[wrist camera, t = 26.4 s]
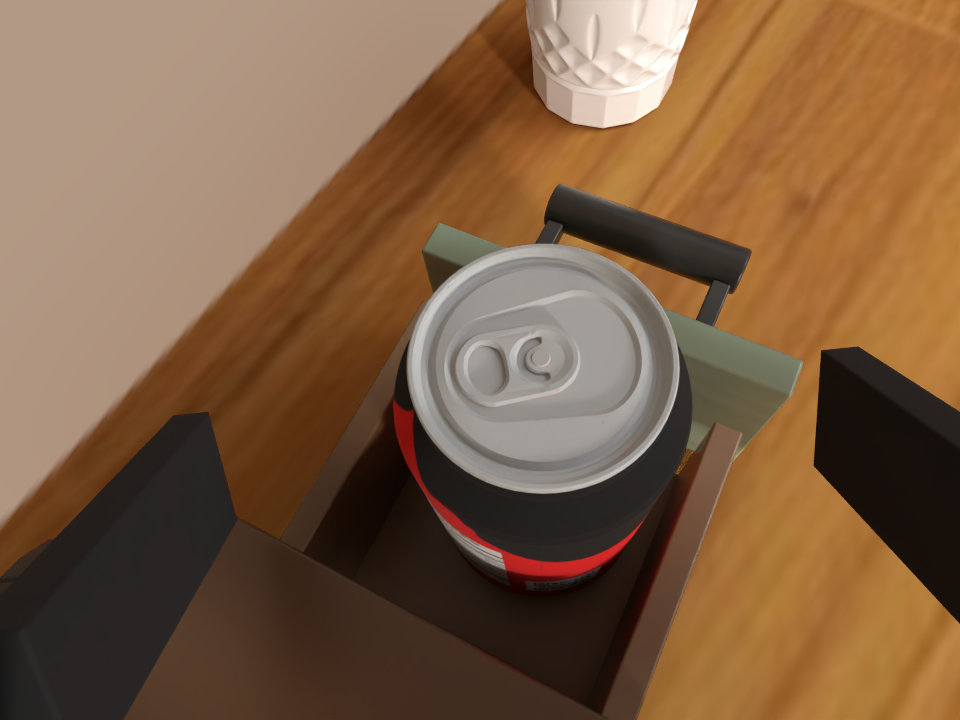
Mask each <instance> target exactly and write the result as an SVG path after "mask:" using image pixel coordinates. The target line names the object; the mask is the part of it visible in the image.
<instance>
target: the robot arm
mask: <svg viewBox="0 0 960 720" xmlns="http://www.w3.org/2000/svg"><path fill="white" fill-rule="evenodd" d="M814 467H815V468H816V469H817V470H818V471H819V472H820V473H821V474H822V475H823V476H824V478H825V479H826V480H827V481H828V482H829V483H830V484H831V485H832V486H833V487H834V488H835V489H836V490H837V492H838V493H839V494H840V495H841V496H842V497H843V498H844V499H845V500H846V501H847V502H848V503H849V505H850V506H851V507H852V508H853V509H854V510H855V511H856V512H857V513H858V514H859V515H860V516H861V518H862V519H863V520H864V521H865V522H866V523H867V524H868V525H869V526H870V527H871V528H872V529H873V530H874V532H875V533H876V534H877V535H878V536H879V537H880V538H881V539H882V540H883V541H884V542H885V543H886V545H887V546H888V547H889V548H890V549H891V550H892V551H893V552H894V553H895V554H896V555H897V556H898V558H899V559H900V560H901V561H902V562H903V563H904V564H905V565H906V566H907V567H908V568H909V569H910V570H911V572H912V573H913V574H914V575H915V576H916V577H917V578H918V579H919V580H920V581H921V582H922V583H923V585H924V586H925V587H926V588H927V589H928V590H929V591H930V592H931V593H932V594H933V595H934V596H935V598H936V599H937V600H938V601H939V602H940V603H941V604H942V605H943V606H944V607H945V608H946V609H947V610H948V612H949V613H950V614H951V615H952V616H953V617H954V618H955V619H956V620H957V621H958V622H959V623H960V412H959V411H958V410H956V409H955V408H953V407H951V406H950V405H948V404H947V403H945V402H944V401H942V400H941V399H939V398H937V397H936V396H934V395H933V394H931V393H930V392H928V391H926V390H925V389H923V388H922V387H920V386H919V385H917V384H916V383H914V382H912V381H911V380H909V379H908V378H906V377H905V376H903V375H902V374H900V373H898V372H897V371H895V370H894V369H892V368H891V367H889V366H888V365H886V364H884V363H883V362H881V361H880V360H878V359H877V358H875V357H874V356H872V355H870V354H869V353H867V352H866V351H864V350H863V349H861V348H860V347H849V348H840V349H830V350H821V363H820V378H819V393H818V408H817V423H816V438H815V453H814ZM236 522H237V518H236V514H235V511H234V507H233V503H232V499H231V496H230V492H229V488H228V484H227V480H226V477H225V473H224V469H223V465H222V462H221V458H220V454H219V450H218V447H217V443H216V439H215V435H214V431H213V428H212V424H211V420H210V416H209V413H208V412H204V413H194V414H184V415H174V416H173V417H172V418H171V419H170V420H169V421H168V422H167V423H166V424H165V425H164V426H163V427H162V428H161V429H160V430H159V431H158V432H157V433H156V434H155V435H154V436H153V437H152V438H151V439H150V441H149V442H148V443H147V444H146V445H145V446H144V447H143V448H142V449H141V450H140V451H139V452H138V453H137V454H136V455H135V456H134V457H133V458H132V459H131V460H130V461H129V462H128V463H127V464H126V465H125V466H124V467H123V469H122V470H121V471H120V472H119V473H118V474H117V475H116V476H115V477H114V478H113V479H112V480H111V481H110V482H109V483H108V484H107V485H106V486H105V487H104V488H103V489H102V490H101V491H100V492H99V493H98V494H97V495H96V497H95V498H94V499H93V500H92V501H91V502H90V503H89V504H88V505H87V506H86V507H85V508H84V509H83V510H82V511H81V512H80V513H79V514H78V515H77V516H76V517H75V518H74V519H73V520H72V521H71V522H70V523H69V524H68V526H67V527H66V528H65V529H64V530H63V531H62V532H61V533H60V534H59V535H58V536H57V537H56V538H55V539H52V540H47V541H46V542H44V543H43V544H41V545H40V546H38V547H37V548H35V549H34V550H32V551H30V552H29V553H27V554H26V555H24V556H23V557H21V558H20V559H18V560H17V561H16V562H15V563H14V564H13V565H12V566H11V567H10V568H9V569H8V570H7V571H6V572H5V573H4V574H3V575H2V576H1V577H0V720H124V718H125V716H126V715H127V713H128V711H129V709H130V708H131V706H132V704H133V702H134V701H135V699H136V697H137V695H138V694H139V692H140V690H141V688H142V687H143V685H144V683H145V681H146V679H147V678H148V676H149V674H150V672H151V671H152V669H153V667H154V665H155V664H156V662H157V660H158V658H159V657H160V655H161V653H162V651H163V650H164V648H165V646H166V644H167V643H168V641H169V639H170V637H171V636H172V634H173V632H174V630H175V629H176V627H177V625H178V623H179V622H180V620H181V618H182V616H183V615H184V613H185V611H186V609H187V608H188V606H189V604H190V602H191V601H192V599H193V597H194V595H195V594H196V592H197V590H198V588H199V587H200V585H201V583H202V581H203V580H204V578H205V576H206V574H207V573H208V571H209V569H210V567H211V566H212V564H213V562H214V560H215V559H216V557H217V555H218V553H219V552H220V550H221V548H222V546H223V545H224V543H225V541H226V539H227V538H228V536H229V534H230V532H231V531H232V529H233V527H234V525H235V524H236Z"/></svg>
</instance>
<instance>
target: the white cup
mask: <svg viewBox="0 0 960 720" xmlns="http://www.w3.org/2000/svg"><path fill="white" fill-rule="evenodd" d="M697 1H698V0H526V2H525V4H526V16H527V24H528V33H529V36H530V40H531V48H532V60H533V78H534V88H535V90H536V91H537V93H538V94H539V96H540V98H541V99H542V101H543V102H544V104H545V106H546V107H547V109H549V110H550V111H552V112H554V113H555V114H557V115H559V116H560V117H562V118H564V119H566V120H567V121H569V122H571V123H573V124H579V125H585V126H591V127H598V128H607V127H612V126H617V125H623V124H628V123H633V122H635V121H637V120H638V119H640V118H641V117H643V116H645V115H646V114H648V113H649V112H651V111H652V110H654V109H655V108H657V107H658V106H659V104H660V103H661V101H662V99H663V97H664V96H665V94H666V92H667V90H668V89H669V87H670V85H671V83H672V79H673V76H674V72H675V68H676V64H677V61H678V57H679V53H680V52H681V49H682V47H683V45H684V42H685V39H686V36H687V33H688V30H689V27H690V22H691V18H692V15H693V13H694V10H695V7H696V4H697Z"/></svg>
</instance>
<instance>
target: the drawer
mask: <svg viewBox="0 0 960 720" xmlns="http://www.w3.org/2000/svg"><path fill="white" fill-rule="evenodd" d="M544 224H545V227H544V229H543V230H542V232H541V234H540V236H539V238H538V240H537V241H536V243H535V244H558V242H559V240H560V238H561V237H562V235H563V233H565V234H568V235H570V236H573V237H576V238H579V239H581V240H584V241H587V242H590V243H592V244H595V245H598V246H601V247H603V248H606V249H609V250H611V251H614V252H617V253H620V254H622V255H625V256H628V257H631V258H633V259H636V260H639V261H642V262H644V263H647V264H650V265H652V266H655V267H658V268H661V269H663V270H666V271H669V272H672V273H674V274H677V275H680V276H682V277H685V278H688V279H691V280H693V281H696V282H699V283H702V284H704V285H707V286H710V288H709V290H708V292H707V295H706V297H705V300H704V302H703V304H702V307H701V309H700V311H699V314H698V316H697V318H696V320H694V319H691V318H689V317H686V316H683V315H681V314H678V313H676V312H673V311H670V310H668V309H665V308H663V310H664V311H665V313H666V315H667V317H668V319H669V321H670V324H671V326H672V329H673V332H674V335H675V339H676V341H677V343H678V345H679V347H680V349H681V352H682V355H683V357H684V360H685V363H686V366H687V370H688V374H689V379H690V385H691V391H692V404H693V411H692V424H691V430H690V436H689V440H688V443H687V447H686V448H688V449H690V450H693V451H695V452H694V453H693V454H692V456H691V457H690V459H689V460H688V462H687V463H686V465H685V466H684V468H683V469H682V470H681V472H680V473H679V475H677V474H674V476H673V477H672V479H671V480H670V482H669V483H668V485H667V486H666V488H665V489H664V491H663V492H662V494H661V495H660V497H659V498H658V500H657V501H656V503H655V504H654V506H653V507H652V509H651V510H650V512H649V513H648V515H647V516H646V518H645V519H644V521H643V522H642V524H641V525H640V527H639V528H638V530H637V531H636V533H635V534H634V536H633V537H632V539H631V540H630V542H629V543H628V545H627V546H626V548H625V549H624V551H623V552H622V554H621V555H620V557H619V558H618V559H617V561H616V562H615V563H614V564H613V565H612V566H611V567H610V568H609V569H608V570H607V571H606V572H605V573H604V574H603V575H602V576H600V577H599V578H598V579H596V580H595V581H593V582H592V583H590V584H588V585H586V586H584V587H582V588H580V589H578V590H575V591H572V592H569V593H565V594H561V595H554V596H529V595H523V594H518V593H515V592H511V591H508V590H506V589H503V588H501V587H499V586H497V585H495V584H493V583H491V582H490V581H488V580H487V579H485V578H484V577H483V576H481V575H480V574H479V573H478V572H476V571H475V570H474V569H473V568H472V567H471V566H470V565H469V564H468V562H467V561H466V560H465V559H464V558H463V556H462V555H461V553H460V552H459V550H458V549H457V547H456V546H455V544H454V542H453V541H452V539H451V537H450V536H449V534H448V532H447V531H446V529H445V527H444V526H443V524H442V522H441V521H440V519H439V517H438V516H437V514H436V512H435V511H434V509H433V507H432V506H431V504H430V502H429V501H428V499H427V497H426V496H425V494H424V492H423V491H422V489H421V487H420V486H419V484H418V482H417V481H416V479H415V477H414V475H413V474H412V472H411V470H410V468H409V466H408V465H407V463H406V460H405V458H404V456H403V453H402V451H401V448H400V445H399V441H398V438H397V434H396V428H395V423H394V411H393V401H394V389H395V381H396V376H397V372H398V368H399V364H400V361H401V358H402V355H403V352H404V350H405V348H406V346H407V344H408V341H409V339H410V338H411V334H412V331H413V328H414V325H415V323H416V321H417V319H418V317H419V314H420V313H421V311H422V309H423V308H424V306H425V304H426V303H427V302H426V301H423V302H422V303H421V304H420V306H419V308H418V309H417V311H416V313H415V314H414V316H413V318H412V319H411V321H410V323H409V324H408V326H407V328H406V329H405V331H404V333H403V334H402V336H401V338H400V339H399V341H398V343H397V344H396V346H395V348H394V349H393V351H392V353H391V354H390V356H389V358H388V359H387V361H386V363H385V364H384V366H383V368H382V369H381V371H380V373H379V374H378V376H377V378H376V380H375V381H374V383H373V385H372V386H371V388H370V390H369V391H368V393H367V395H366V396H365V398H364V400H363V401H362V403H361V405H360V406H359V408H358V410H357V411H356V413H355V415H354V416H353V418H352V420H351V421H350V423H349V425H348V426H347V428H346V430H345V431H344V433H343V435H342V436H341V438H340V440H339V441H338V443H337V445H336V446H335V448H334V450H333V451H332V453H331V455H330V456H329V458H328V460H327V461H326V463H325V465H324V466H323V468H322V470H321V471H320V473H319V475H318V476H317V478H316V480H315V481H314V483H313V485H312V486H311V488H310V490H309V491H308V493H307V495H306V496H305V498H304V500H303V501H302V503H301V505H300V506H299V508H298V510H297V511H296V513H295V515H294V516H293V518H292V520H291V521H290V523H289V525H288V526H287V528H286V530H285V531H284V533H283V535H282V536H281V538H280V540H281V541H283V542H285V543H287V544H288V545H290V546H292V547H294V548H296V549H298V550H299V551H301V552H303V553H305V554H307V555H309V556H311V557H312V558H314V559H316V560H318V561H320V562H322V563H323V564H325V565H327V566H329V567H331V568H333V569H334V570H336V571H338V572H340V573H342V574H344V575H345V576H347V577H349V578H351V579H353V580H355V581H356V582H358V583H360V584H362V585H364V586H366V587H368V588H369V589H371V590H373V591H375V592H377V593H379V594H380V595H382V596H384V597H386V598H388V599H390V600H391V601H393V602H395V603H397V604H399V605H401V606H402V607H404V608H406V609H408V610H410V611H412V612H413V613H415V614H417V615H419V616H421V617H423V618H425V619H426V620H428V621H430V622H432V623H434V624H436V625H437V626H439V627H441V628H443V629H445V630H447V631H448V632H450V633H452V634H454V635H456V636H458V637H459V638H461V639H463V640H465V641H467V642H469V643H471V644H472V645H474V646H476V647H478V648H480V649H482V650H483V651H485V652H487V653H489V654H491V655H493V656H494V657H496V658H498V659H500V660H502V661H504V662H505V663H507V664H509V665H511V666H513V667H515V668H516V669H518V670H520V671H522V672H524V673H526V674H528V675H529V676H531V677H533V678H535V679H537V680H539V681H540V682H542V683H544V684H546V685H548V686H550V687H551V688H553V689H555V690H557V691H559V692H561V693H562V694H564V695H566V696H568V697H570V698H572V699H573V700H575V701H577V702H579V703H581V704H583V705H585V706H586V707H588V708H590V709H592V710H594V711H596V712H597V713H599V714H601V715H603V716H605V717H607V718H608V719H610V720H637V717H638V715H639V712H640V709H641V707H642V704H643V701H644V699H645V696H646V693H647V691H648V688H649V685H650V683H651V680H652V677H653V674H654V672H655V669H656V666H657V664H658V661H659V658H660V656H661V653H662V650H663V648H664V645H665V642H666V640H667V637H668V634H669V631H670V629H671V626H672V623H673V621H674V618H675V615H676V613H677V610H678V607H679V605H680V602H681V599H682V597H683V594H684V591H685V588H686V586H687V583H688V580H689V578H690V575H691V572H692V570H693V567H694V564H695V562H696V559H697V556H698V554H699V551H700V548H701V545H702V543H703V540H704V537H705V535H706V532H707V529H708V527H709V524H710V521H711V519H712V516H713V513H714V511H715V508H716V505H717V502H718V500H719V497H720V494H721V492H722V489H723V486H724V484H725V481H726V478H727V476H728V473H729V470H730V468H731V465H732V462H733V461H734V459H735V458H736V457H737V456H738V455H739V454H740V453H741V452H742V451H743V449H744V448H745V447H746V446H747V445H748V444H749V443H750V442H751V440H752V439H753V438H754V437H755V436H756V435H757V434H758V433H759V431H760V430H761V429H762V428H763V427H764V426H765V425H766V424H767V423H768V421H769V420H770V419H771V418H772V417H773V416H774V415H775V414H776V412H777V411H778V410H779V409H780V408H781V407H782V406H783V405H784V403H785V402H786V401H787V400H788V399H789V398H790V397H791V396H792V394H793V391H794V388H795V385H796V382H797V379H798V377H799V374H800V371H801V368H802V365H803V361H801V360H799V359H796V358H794V357H791V356H789V355H786V354H783V353H781V352H778V351H775V350H773V349H770V348H768V347H765V346H762V345H760V344H757V343H754V342H752V341H749V340H747V339H744V338H741V337H739V336H736V335H733V334H731V333H728V332H725V331H723V330H720V329H718V328H715V327H714V325H715V323H716V320H717V318H718V316H719V313H720V311H721V308H722V306H723V303H724V301H725V299H726V296H727V294H728V293H729V294H733V293H734V292H735V290H736V288H737V286H738V284H739V282H740V279H741V277H742V275H743V273H744V270H745V268H746V266H747V263H748V261H749V259H750V256H751V253H752V251H751V250H750V249H748V248H745V247H742V246H739V245H736V244H734V243H731V242H728V241H725V240H722V239H719V238H716V237H713V236H711V235H708V234H705V233H702V232H699V231H696V230H693V229H690V228H687V227H685V226H682V225H679V224H676V223H673V222H670V221H667V220H664V219H662V218H659V217H656V216H653V215H650V214H647V213H644V212H641V211H639V210H636V209H633V208H630V207H627V206H624V205H621V204H618V203H616V202H613V201H610V200H607V199H604V198H601V197H598V196H595V195H592V194H590V193H587V192H584V191H581V190H578V189H575V188H572V187H569V186H567V185H564V184H559V185H558V186H557V187H556V188H555V190H554V191H553V193H552V195H551V197H550V199H549V202H548V205H547V208H546V211H545V216H544ZM501 249H505V247H502V246H499V245H497V244H494V243H491V242H489V241H486V240H484V239H481V238H478V237H476V236H473V235H470V234H468V233H465V232H462V231H460V230H457V229H455V228H452V227H449V226H447V225H444V224H441V223H439V224H438V225H437V226H436V228H435V230H434V231H433V233H432V234H431V236H430V238H429V239H428V241H427V242H426V244H425V246H424V247H423V249H422V253H423V257H424V261H425V264H426V268H427V272H428V276H429V279H430V283H431V287H432V290H433V293H434V292H435V291H436V290H437V289H438V288H439V287H440V285H441V284H442V283H444V282H445V281H446V280H447V279H448V278H449V277H450V276H451V275H453V274H454V273H455V272H457V271H458V270H459V269H461V268H462V267H464V266H465V265H467V264H469V263H470V262H472V261H474V260H476V259H478V258H480V257H482V256H485V255H487V254H489V253H492V252H495V251H498V250H501Z"/></svg>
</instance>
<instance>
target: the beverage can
mask: <svg viewBox="0 0 960 720" xmlns="http://www.w3.org/2000/svg"><path fill="white" fill-rule="evenodd" d="M393 411H394V423H395V428H396V434H397V438H398V441H399V445H400V448H401V451H402V453H403V456H404V458H405V460H406V463H407V465H408V466H409V468H410V470H411V472H412V474H413V475H414V477H415V479H416V481H417V482H418V484H419V486H420V487H421V489H422V491H423V492H424V494H425V496H426V497H427V499H428V501H429V502H430V504H431V506H432V507H433V509H434V511H435V512H436V514H437V516H438V517H439V519H440V521H441V522H442V524H443V526H444V527H445V529H446V531H447V532H448V534H449V536H450V537H451V539H452V541H453V542H454V544H455V546H456V547H457V549H458V550H459V552H460V553H461V555H462V556H463V558H464V559H465V560H466V561H467V562H468V564H469V565H470V566H471V567H472V568H473V569H474V570H475V571H476V572H478V573H479V574H480V575H481V576H483V577H484V578H485V579H487V580H488V581H490V582H491V583H493V584H495V585H497V586H499V587H501V588H503V589H506V590H508V591H511V592H515V593H518V594H523V595H529V596H554V595H561V594H565V593H569V592H572V591H575V590H578V589H580V588H582V587H584V586H586V585H588V584H590V583H592V582H593V581H595V580H596V579H598V578H599V577H600V576H602V575H603V574H604V573H605V572H606V571H607V570H608V569H609V568H610V567H611V566H612V565H613V564H614V563H615V562H616V561H617V559H618V558H619V557H620V555H621V554H622V552H623V551H624V549H625V548H626V546H627V545H628V543H629V542H630V540H631V539H632V537H633V536H634V534H635V533H636V531H637V530H638V528H639V527H640V525H641V524H642V522H643V521H644V519H645V518H646V516H647V515H648V513H649V512H650V510H651V509H652V507H653V506H654V504H655V503H656V501H657V500H658V498H659V497H660V495H661V494H662V492H663V491H664V489H665V488H666V486H667V485H668V483H669V482H670V480H671V479H672V477H673V476H674V474H675V472H676V470H677V468H678V466H679V464H680V463H681V460H682V458H683V455H684V453H685V450H686V447H687V443H688V440H689V436H690V430H691V424H692V411H693V404H692V391H691V385H690V379H689V374H688V370H687V366H686V363H685V360H684V357H683V355H682V352H681V349H680V347H679V345H678V343H677V341H676V339H675V335H674V332H673V329H672V326H671V324H670V321H669V319H668V317H667V315H666V313H665V311H664V310H663V308H662V307H661V305H660V304H659V302H658V300H657V299H656V298H655V297H654V295H653V294H652V293H651V292H650V290H649V289H648V288H647V287H646V286H645V285H644V284H643V283H642V282H641V281H640V280H639V279H637V278H636V277H635V276H634V275H633V274H632V273H630V272H629V271H627V270H626V269H624V268H623V267H622V266H620V265H618V264H616V263H615V262H613V261H611V260H609V259H607V258H605V257H603V256H601V255H598V254H596V253H593V252H590V251H587V250H584V249H580V248H576V247H571V246H566V245H557V244H527V245H520V246H514V247H509V248H505V249H501V250H498V251H495V252H492V253H489V254H487V255H485V256H482V257H480V258H478V259H476V260H474V261H472V262H470V263H469V264H467V265H465V266H464V267H462V268H461V269H459V270H458V271H457V272H455V273H454V274H453V275H451V276H450V277H449V278H448V279H447V280H446V281H445V282H444V283H442V284H441V285H440V287H439V288H438V289H437V290H436V291H435V292H434V293H433V295H432V296H431V297H430V299H429V300H428V301H427V303H426V304H425V306H424V308H423V309H422V311H421V313H420V314H419V317H418V319H417V321H416V323H415V325H414V328H413V331H412V334H411V338H410V339H409V341H408V344H407V346H406V348H405V350H404V352H403V355H402V358H401V361H400V364H399V368H398V372H397V376H396V381H395V389H394V401H393Z"/></svg>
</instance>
